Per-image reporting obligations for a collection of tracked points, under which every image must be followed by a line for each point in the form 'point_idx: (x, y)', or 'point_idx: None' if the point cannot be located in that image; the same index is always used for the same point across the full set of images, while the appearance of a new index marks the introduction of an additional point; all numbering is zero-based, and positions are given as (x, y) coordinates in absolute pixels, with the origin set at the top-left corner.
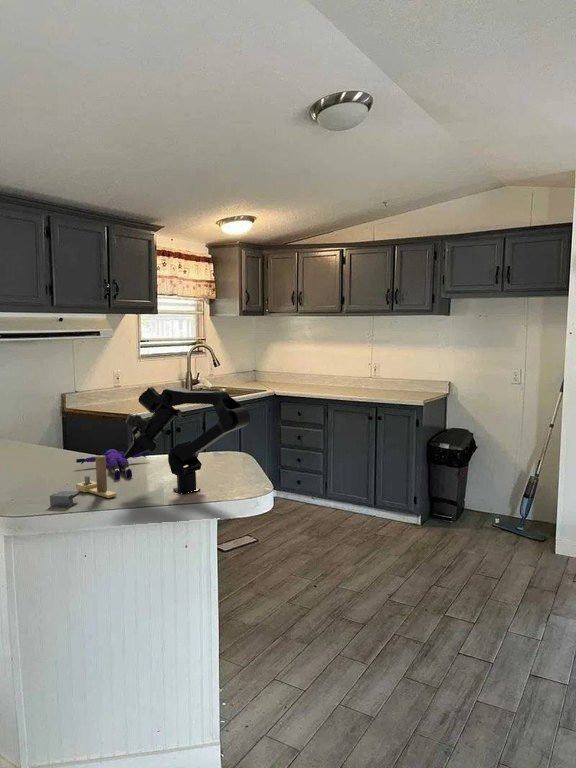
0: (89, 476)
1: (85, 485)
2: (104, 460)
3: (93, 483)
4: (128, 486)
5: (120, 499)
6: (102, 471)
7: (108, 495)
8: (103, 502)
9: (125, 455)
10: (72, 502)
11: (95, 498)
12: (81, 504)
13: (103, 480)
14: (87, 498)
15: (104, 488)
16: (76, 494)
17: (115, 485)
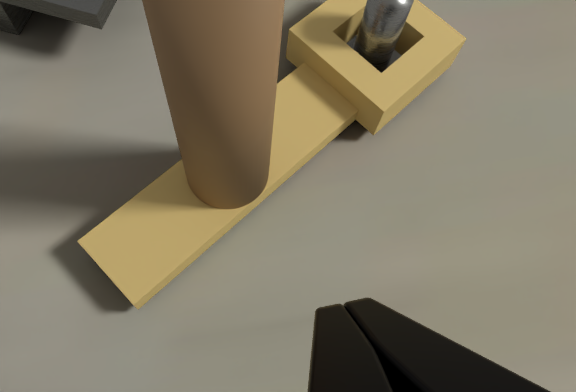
0: (390, 8)
1: (320, 29)
2: (166, 8)
3: (373, 75)
4: None
5: (50, 357)
6: (164, 80)
7: (79, 243)
8: (8, 226)
9: (314, 330)
10: (5, 20)
11: (143, 150)
12: (14, 82)
13: (180, 142)
14: (159, 97)
15: (192, 182)
16: (47, 6)
17: (498, 245)
